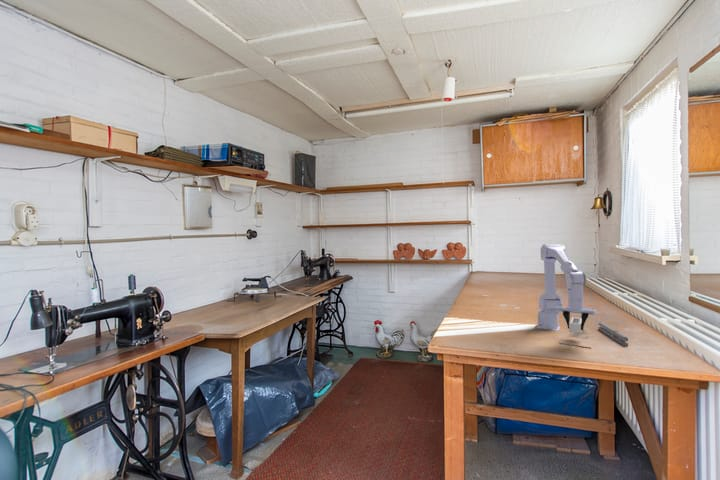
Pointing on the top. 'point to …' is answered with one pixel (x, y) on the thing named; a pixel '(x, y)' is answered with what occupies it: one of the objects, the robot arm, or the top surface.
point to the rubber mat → (575, 345)
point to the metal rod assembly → (613, 334)
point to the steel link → (575, 325)
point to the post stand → (583, 334)
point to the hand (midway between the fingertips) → (575, 328)
